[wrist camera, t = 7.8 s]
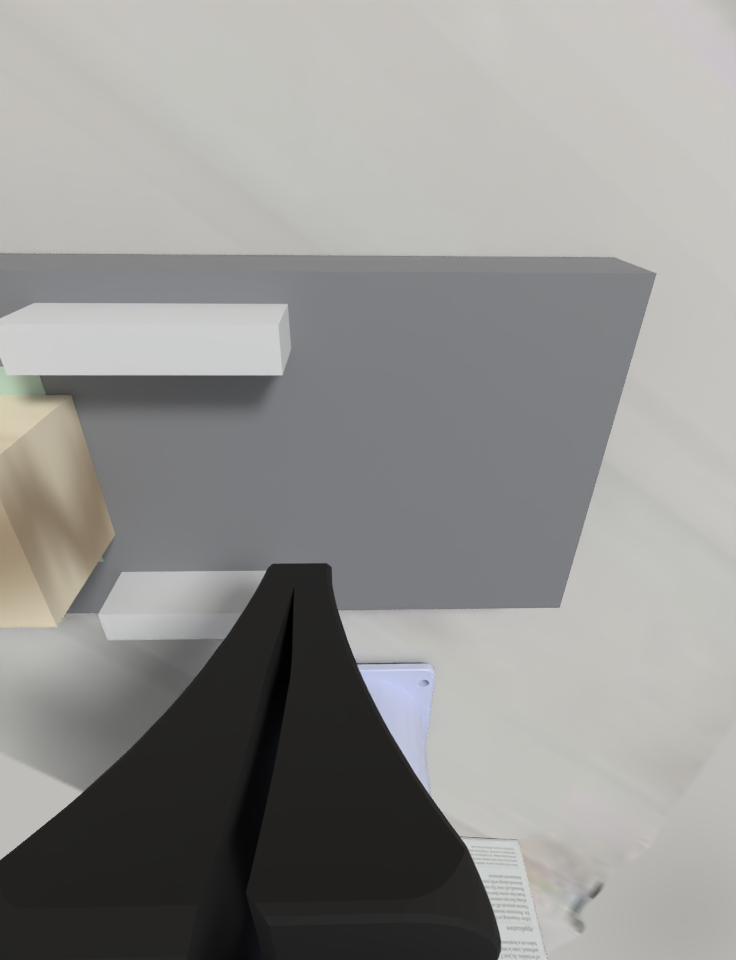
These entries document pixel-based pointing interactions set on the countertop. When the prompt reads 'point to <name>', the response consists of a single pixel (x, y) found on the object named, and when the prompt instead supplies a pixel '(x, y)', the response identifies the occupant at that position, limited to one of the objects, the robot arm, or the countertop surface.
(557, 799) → the countertop surface
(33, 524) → the block
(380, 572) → the grey long flat tray
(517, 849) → the small box
